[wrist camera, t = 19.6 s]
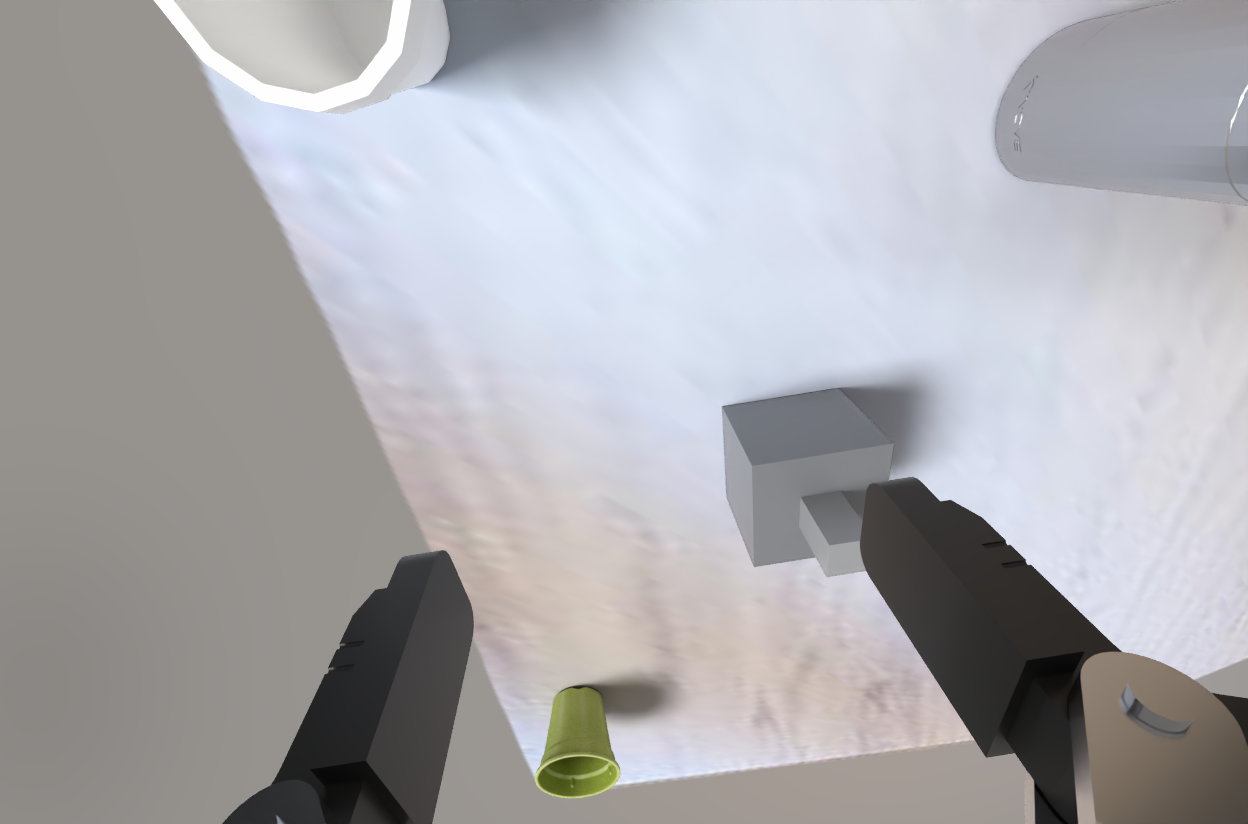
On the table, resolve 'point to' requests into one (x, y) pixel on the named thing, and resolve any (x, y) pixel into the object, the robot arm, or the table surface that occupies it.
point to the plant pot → (577, 747)
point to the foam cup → (317, 47)
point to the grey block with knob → (803, 477)
